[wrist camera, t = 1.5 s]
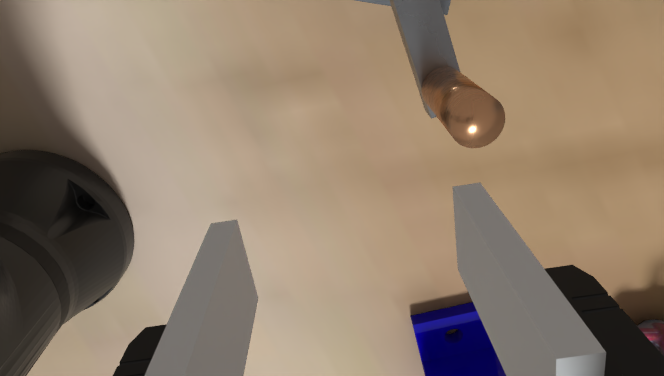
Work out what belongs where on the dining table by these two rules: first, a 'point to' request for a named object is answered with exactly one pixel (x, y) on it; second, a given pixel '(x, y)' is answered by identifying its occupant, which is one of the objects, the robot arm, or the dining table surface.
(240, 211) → the dining table surface
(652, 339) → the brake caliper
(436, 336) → the mounting bracket
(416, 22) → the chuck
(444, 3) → the stand
